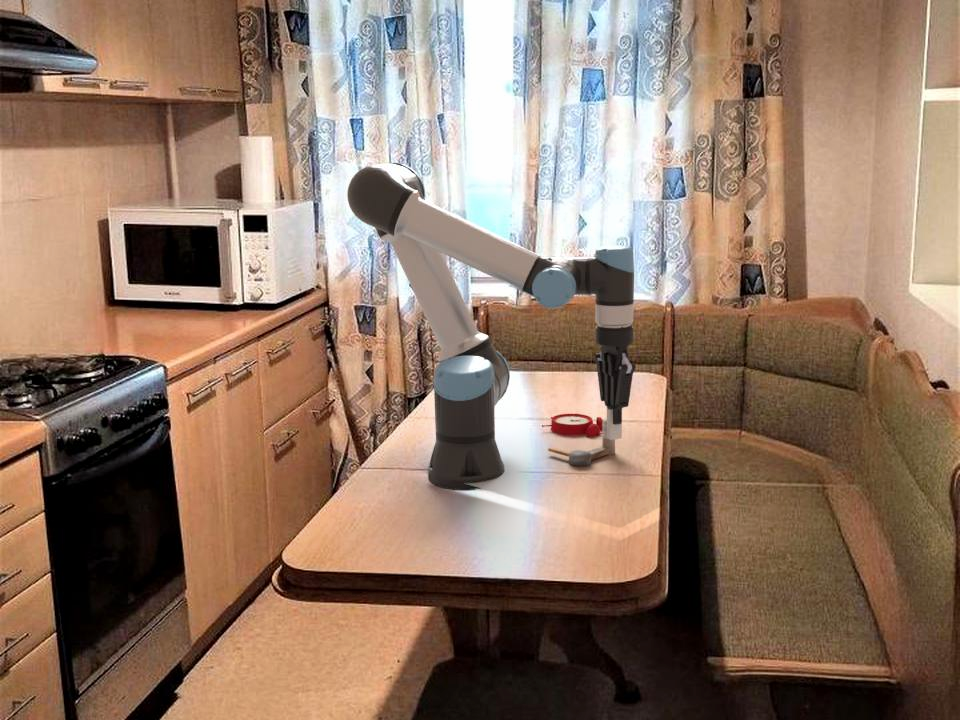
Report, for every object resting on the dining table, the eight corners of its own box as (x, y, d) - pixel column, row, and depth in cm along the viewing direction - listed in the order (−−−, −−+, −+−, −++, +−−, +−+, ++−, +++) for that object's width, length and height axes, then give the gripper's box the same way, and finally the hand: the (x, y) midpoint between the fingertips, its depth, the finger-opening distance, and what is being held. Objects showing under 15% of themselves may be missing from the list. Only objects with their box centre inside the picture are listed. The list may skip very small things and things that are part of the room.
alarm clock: (550, 412, 235) (613, 403, 230) (556, 438, 236) (619, 429, 230) (537, 424, 226) (602, 415, 220) (544, 451, 226) (609, 442, 221)
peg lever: (581, 468, 202) (581, 434, 201) (542, 457, 210) (542, 424, 208) (621, 453, 210) (621, 421, 209) (582, 443, 218) (582, 412, 216)
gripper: (647, 327, 199) (646, 444, 204) (615, 317, 211) (615, 427, 216) (613, 331, 196) (613, 449, 201) (582, 320, 208) (583, 432, 213)
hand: (614, 438), depth 209 cm, fingers closed
